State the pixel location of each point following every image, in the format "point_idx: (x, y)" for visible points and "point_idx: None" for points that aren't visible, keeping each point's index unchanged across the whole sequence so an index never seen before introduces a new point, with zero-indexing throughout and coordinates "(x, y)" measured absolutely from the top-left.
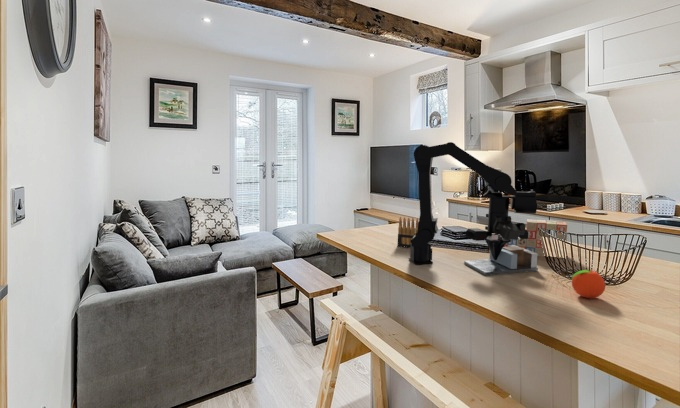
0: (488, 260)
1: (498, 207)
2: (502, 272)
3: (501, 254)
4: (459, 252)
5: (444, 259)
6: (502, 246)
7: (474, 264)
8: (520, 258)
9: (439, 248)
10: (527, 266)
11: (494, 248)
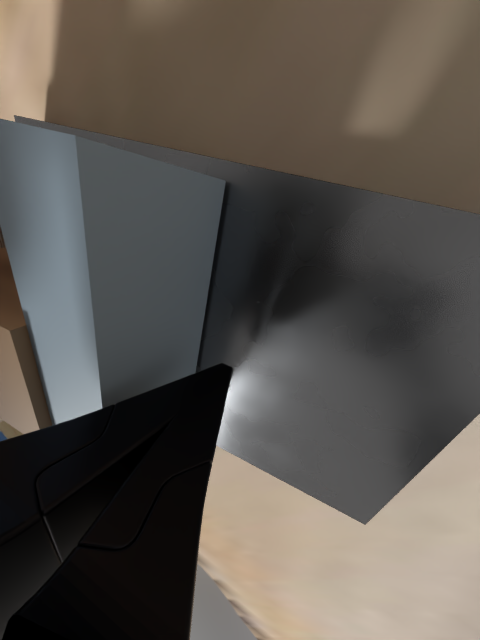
0: None
1: None
2: (345, 188)
3: (141, 372)
4: (214, 545)
5: (382, 592)
6: (17, 454)
7: (384, 455)
8: None
9: (246, 606)
10: None
11: (198, 522)
